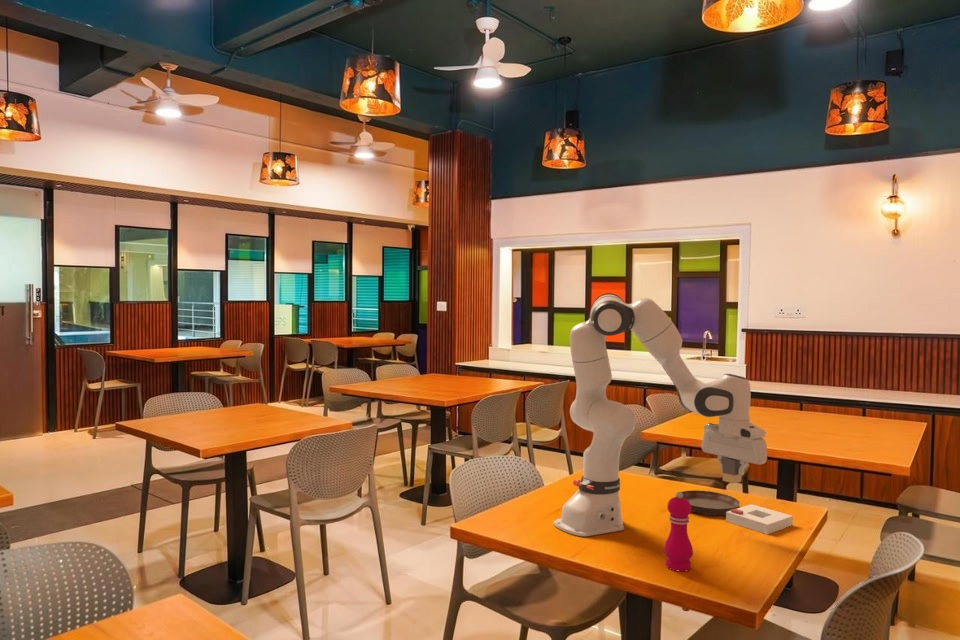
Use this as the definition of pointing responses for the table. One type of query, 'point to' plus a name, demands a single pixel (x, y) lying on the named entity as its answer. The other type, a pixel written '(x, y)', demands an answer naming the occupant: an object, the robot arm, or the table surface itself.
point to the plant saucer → (710, 502)
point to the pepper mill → (678, 534)
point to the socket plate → (759, 518)
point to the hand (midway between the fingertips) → (732, 472)
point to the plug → (731, 470)
